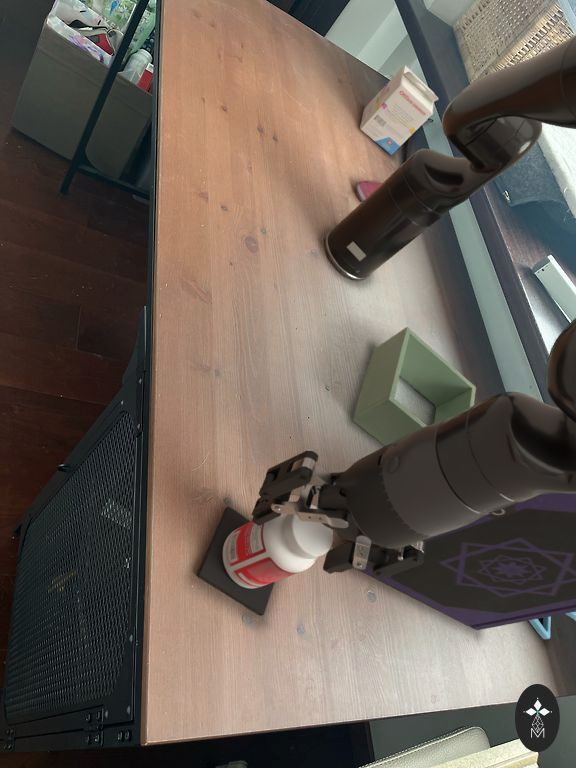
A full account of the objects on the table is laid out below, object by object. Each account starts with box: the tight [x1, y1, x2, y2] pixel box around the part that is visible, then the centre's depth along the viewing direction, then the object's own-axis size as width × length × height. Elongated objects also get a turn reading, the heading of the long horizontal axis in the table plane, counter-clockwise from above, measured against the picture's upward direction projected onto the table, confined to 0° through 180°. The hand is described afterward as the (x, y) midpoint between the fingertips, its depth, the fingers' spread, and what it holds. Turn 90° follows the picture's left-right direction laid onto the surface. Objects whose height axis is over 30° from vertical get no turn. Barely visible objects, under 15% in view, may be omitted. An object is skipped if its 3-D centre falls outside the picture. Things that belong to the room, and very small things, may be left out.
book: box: [350, 494, 576, 631], centre depth 66 cm, size 24×6×30 cm, turn 77°
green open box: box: [352, 326, 477, 447], centre depth 87 cm, size 15×15×7 cm
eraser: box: [354, 180, 383, 203], centre depth 112 cm, size 11×4×2 cm, turn 117°
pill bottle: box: [223, 504, 334, 588], centre depth 59 cm, size 6×6×11 cm
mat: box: [196, 506, 276, 617], centre depth 63 cm, size 8×8×1 cm
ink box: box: [359, 64, 439, 156], centre depth 120 cm, size 9×8×13 cm
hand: (292, 539), depth 57 cm, fingers open, 8 cm apart
